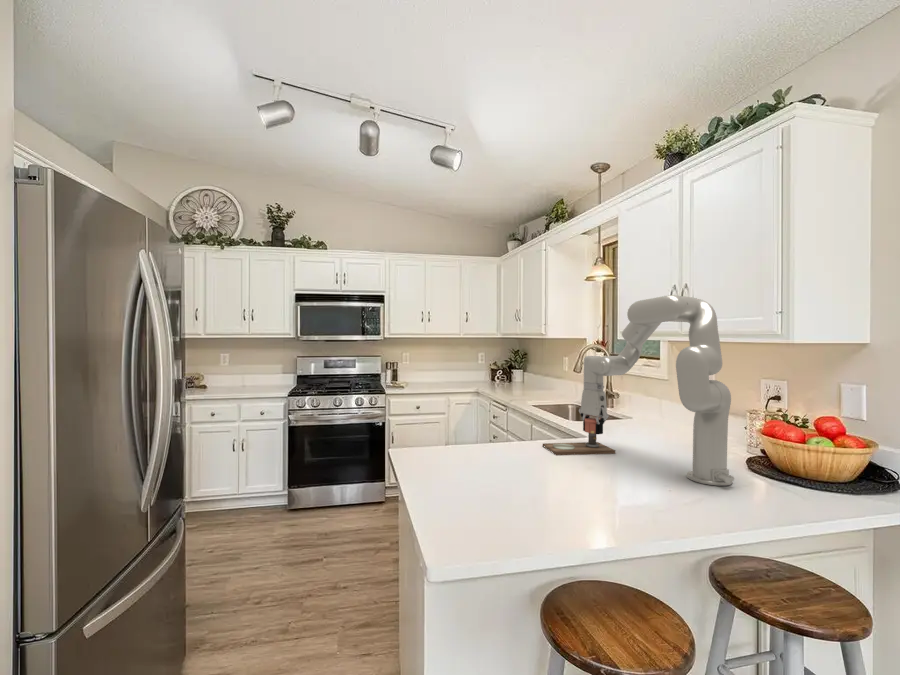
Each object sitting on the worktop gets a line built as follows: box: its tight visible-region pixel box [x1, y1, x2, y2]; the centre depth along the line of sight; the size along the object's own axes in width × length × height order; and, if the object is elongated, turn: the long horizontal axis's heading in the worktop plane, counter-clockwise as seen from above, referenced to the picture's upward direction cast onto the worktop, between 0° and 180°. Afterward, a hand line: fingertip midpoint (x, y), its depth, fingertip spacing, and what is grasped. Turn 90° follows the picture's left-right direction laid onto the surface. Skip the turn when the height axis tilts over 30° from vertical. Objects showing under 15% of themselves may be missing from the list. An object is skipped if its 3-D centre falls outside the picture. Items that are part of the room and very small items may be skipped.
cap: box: [584, 417, 600, 434], centre depth 184 cm, size 8×6×5 cm
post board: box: [542, 433, 616, 456], centre depth 183 cm, size 14×24×10 cm, turn 100°
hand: (592, 431), depth 184 cm, fingers closed on cap, 6 cm apart
